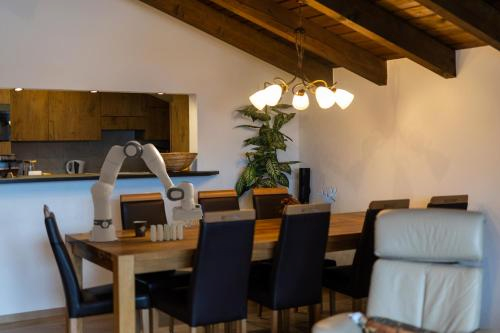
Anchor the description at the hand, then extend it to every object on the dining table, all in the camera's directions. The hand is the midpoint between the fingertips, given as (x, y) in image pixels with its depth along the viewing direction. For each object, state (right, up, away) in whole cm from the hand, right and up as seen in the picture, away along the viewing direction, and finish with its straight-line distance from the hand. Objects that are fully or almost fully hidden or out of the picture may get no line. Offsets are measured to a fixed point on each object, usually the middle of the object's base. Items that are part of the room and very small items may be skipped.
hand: (187, 226), depth 446 cm
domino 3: (-13, -8, -6) cm, 16 cm away
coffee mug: (-32, -8, +13) cm, 35 cm away
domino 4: (-9, -8, -4) cm, 13 cm away
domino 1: (-21, -8, -10) cm, 25 cm away
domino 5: (-5, -8, -2) cm, 9 cm away
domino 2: (-17, -8, -8) cm, 20 cm away
